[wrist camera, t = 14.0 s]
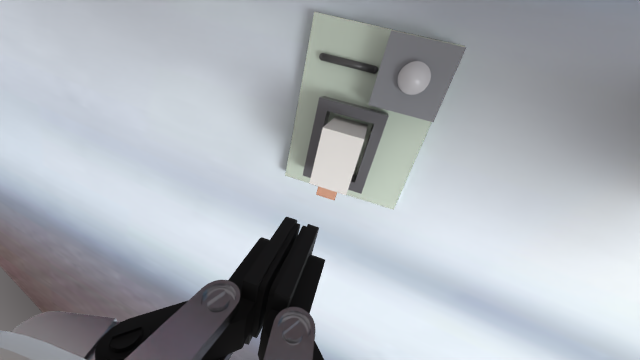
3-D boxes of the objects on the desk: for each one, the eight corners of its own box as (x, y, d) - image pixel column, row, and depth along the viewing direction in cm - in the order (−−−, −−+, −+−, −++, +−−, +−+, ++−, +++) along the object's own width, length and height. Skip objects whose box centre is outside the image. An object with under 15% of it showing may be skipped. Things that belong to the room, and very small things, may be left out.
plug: (367, 124, 28) (364, 139, 21) (351, 175, 31) (343, 203, 24) (336, 115, 29) (322, 127, 21) (323, 166, 32) (307, 191, 24)
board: (460, 48, 24) (477, 41, 20) (392, 204, 33) (395, 221, 29) (317, 15, 26) (306, 3, 22) (288, 171, 35) (276, 184, 31)
